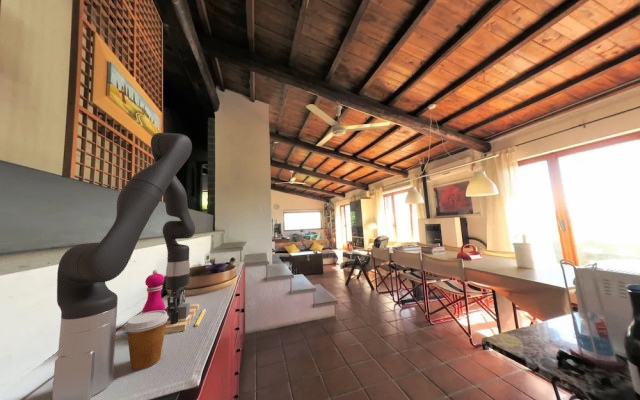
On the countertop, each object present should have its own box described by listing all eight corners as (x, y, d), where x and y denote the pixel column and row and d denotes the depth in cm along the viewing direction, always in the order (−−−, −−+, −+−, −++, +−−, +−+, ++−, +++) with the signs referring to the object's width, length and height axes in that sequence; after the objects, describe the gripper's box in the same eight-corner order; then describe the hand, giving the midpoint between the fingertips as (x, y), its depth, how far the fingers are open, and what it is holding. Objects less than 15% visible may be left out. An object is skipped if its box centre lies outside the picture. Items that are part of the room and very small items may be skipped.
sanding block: (186, 320, 81) (186, 306, 81) (164, 323, 79) (164, 309, 79) (189, 316, 84) (189, 302, 85) (168, 319, 83) (169, 305, 83)
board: (185, 330, 77) (185, 324, 77) (158, 335, 75) (158, 328, 75) (199, 308, 98) (199, 303, 98) (178, 311, 96) (178, 306, 96)
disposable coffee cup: (144, 376, 54) (146, 325, 55) (112, 373, 56) (115, 323, 57) (175, 353, 63) (176, 310, 65) (147, 351, 65) (149, 309, 66)
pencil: (197, 326, 80) (197, 324, 80) (195, 327, 80) (195, 324, 80) (205, 311, 95) (205, 308, 95) (203, 311, 95) (203, 309, 95)
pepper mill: (169, 318, 88) (170, 267, 91) (154, 326, 81) (156, 271, 83) (152, 318, 89) (154, 268, 91) (136, 326, 82) (138, 272, 84)
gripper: (183, 276, 77) (182, 326, 76) (193, 268, 91) (192, 311, 89) (158, 278, 75) (156, 330, 73) (172, 270, 89) (171, 314, 87)
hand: (176, 319), depth 81 cm, fingers open, 4 cm apart
